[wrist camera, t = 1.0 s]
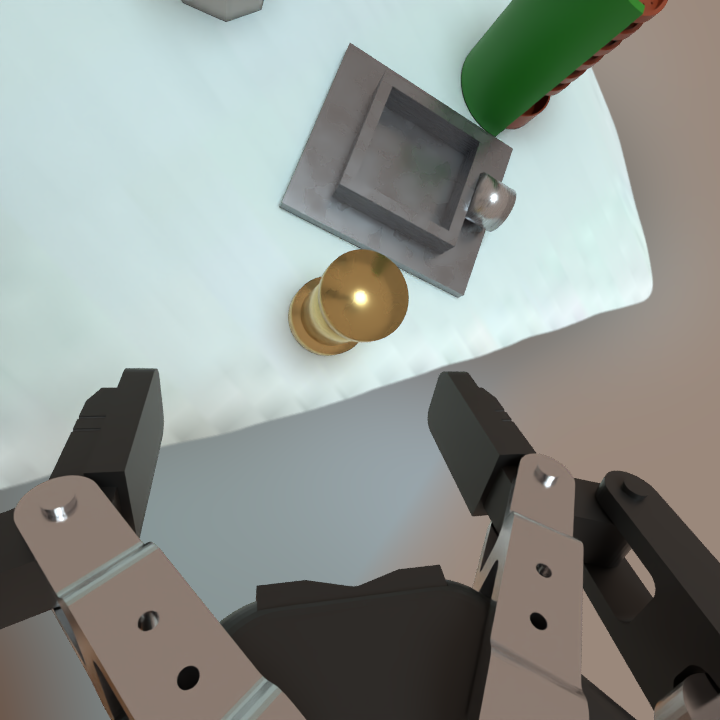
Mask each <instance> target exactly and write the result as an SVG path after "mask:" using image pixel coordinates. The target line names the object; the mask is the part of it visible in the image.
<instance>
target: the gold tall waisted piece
mask: <svg viewBox="0 0 720 720" xmlns="http://www.w3.org/2000/svg"><path fill="white" fill-rule="evenodd" d="M408 299H409V296H408V288H407V284H406V281H405V279H404V277H403V274H402V273H401V271H400V270H399V268H398V267H397V266H396V265H395V264H394V263H393V262H392V261H391V260H390V259H389V258H387V257H386V256H384V255H382V254H380V253H378V252H375V251H372V250H366V249H359V250H353V251H349V252H347V253H345V254H343V255H341V256H339V257H338V258H337V259H336V260H335V261H333V262H332V263H331V264H330V266H329V267H328V268H327V269H326V270H325V272H324V273H323V275H322V277H319V278H315V279H313V280H311V281H309V282H308V283H306V284H305V285H304V286H303V287H302V288H301V289H300V290H299V291H298V292H297V293H296V295H295V296H294V297H293V299H292V301H291V304H290V307H289V314H288V319H289V326H290V329H291V332H292V334H293V336H294V337H295V339H296V340H297V342H298V343H299V344H300V345H301V346H302V347H304V348H305V349H306V350H308V351H310V352H312V353H315V354H318V355H325V356H329V355H335V354H340V353H343V352H346V351H348V350H350V349H351V348H353V347H354V346H355V345H356V344H357V343H358V342H371V341H375V340H379V339H382V338H384V337H386V336H388V335H390V334H391V333H393V332H394V331H395V330H396V329H397V328H398V327H399V325H400V324H401V323H402V321H403V319H404V317H405V315H406V312H407V308H408Z"/></svg>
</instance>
